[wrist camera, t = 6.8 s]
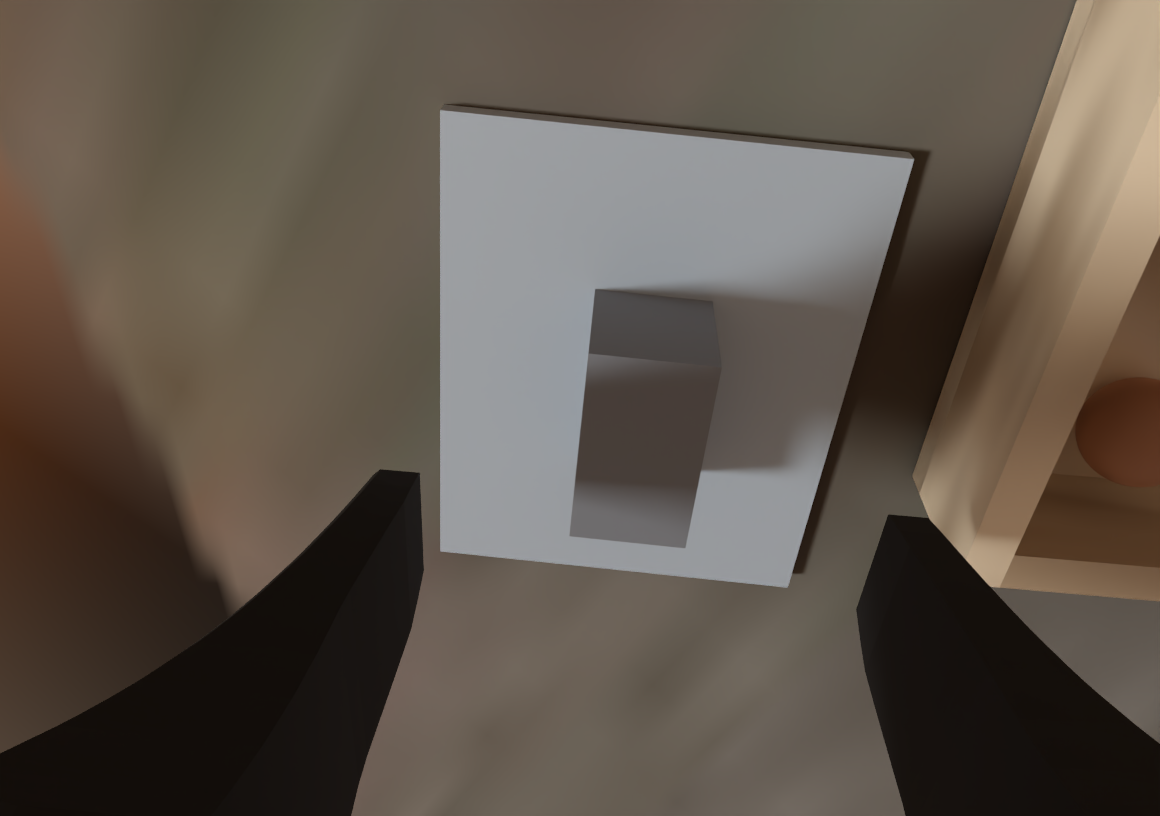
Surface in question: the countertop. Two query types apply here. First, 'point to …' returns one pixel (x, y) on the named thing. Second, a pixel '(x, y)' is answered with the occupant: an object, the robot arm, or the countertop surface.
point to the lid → (647, 337)
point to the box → (1066, 338)
